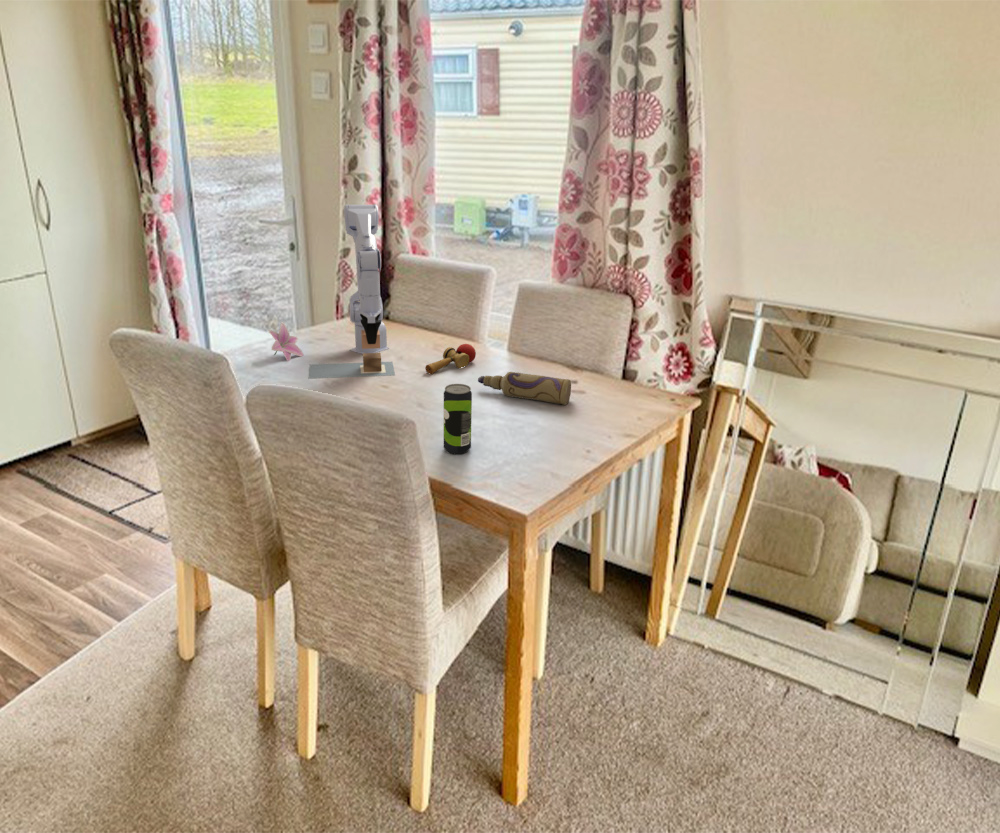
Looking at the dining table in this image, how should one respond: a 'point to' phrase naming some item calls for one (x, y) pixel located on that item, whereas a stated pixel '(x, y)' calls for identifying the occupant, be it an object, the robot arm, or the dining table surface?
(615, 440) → the dining table surface
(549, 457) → the dining table surface
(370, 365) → the walnut block
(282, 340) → the lily
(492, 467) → the dining table surface
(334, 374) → the board
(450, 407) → the beverage can
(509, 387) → the decorative bottle
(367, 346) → the terracotta block
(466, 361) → the kendama
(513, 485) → the dining table surface
